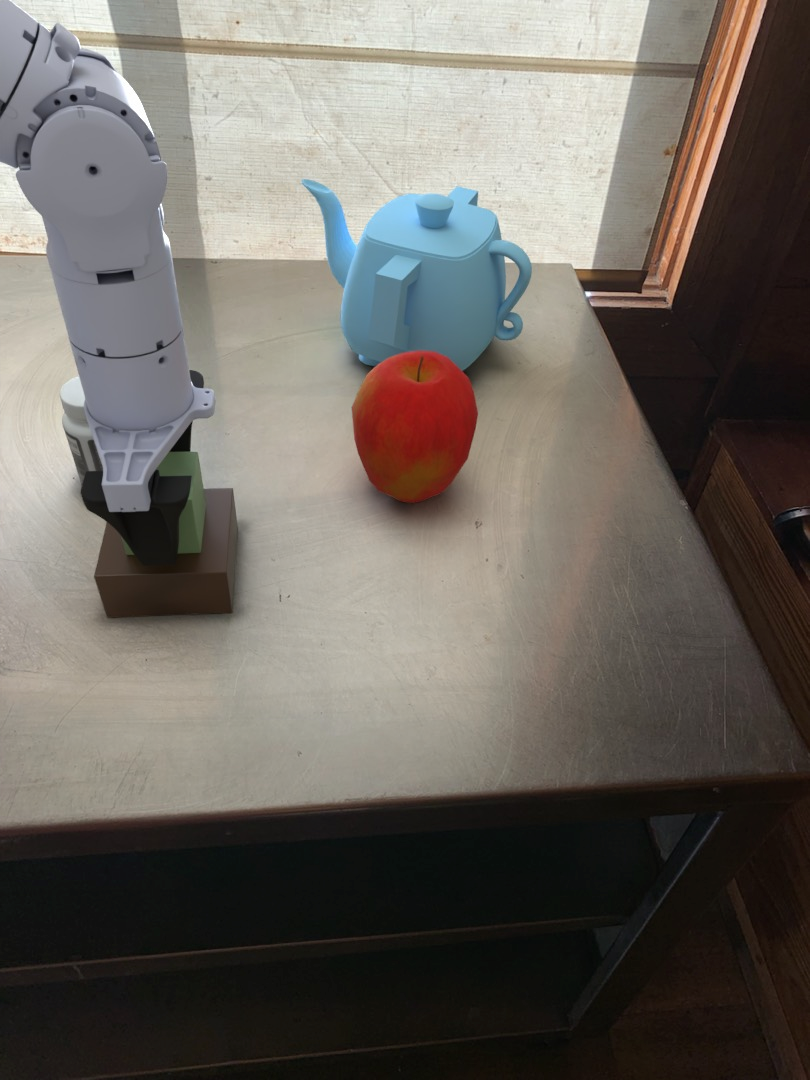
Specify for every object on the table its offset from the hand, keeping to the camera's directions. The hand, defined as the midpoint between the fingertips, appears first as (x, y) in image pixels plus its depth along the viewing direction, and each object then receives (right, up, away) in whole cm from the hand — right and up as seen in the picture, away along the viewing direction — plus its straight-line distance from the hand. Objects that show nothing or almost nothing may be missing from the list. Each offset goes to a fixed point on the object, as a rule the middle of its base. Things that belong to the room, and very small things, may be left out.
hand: (165, 517), depth 51 cm
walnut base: (0, -4, +4) cm, 5 cm away
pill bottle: (-7, +3, +10) cm, 12 cm away
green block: (0, -1, +1) cm, 1 cm away
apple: (+16, +2, +11) cm, 20 cm away
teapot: (+15, +17, +26) cm, 35 cm away
